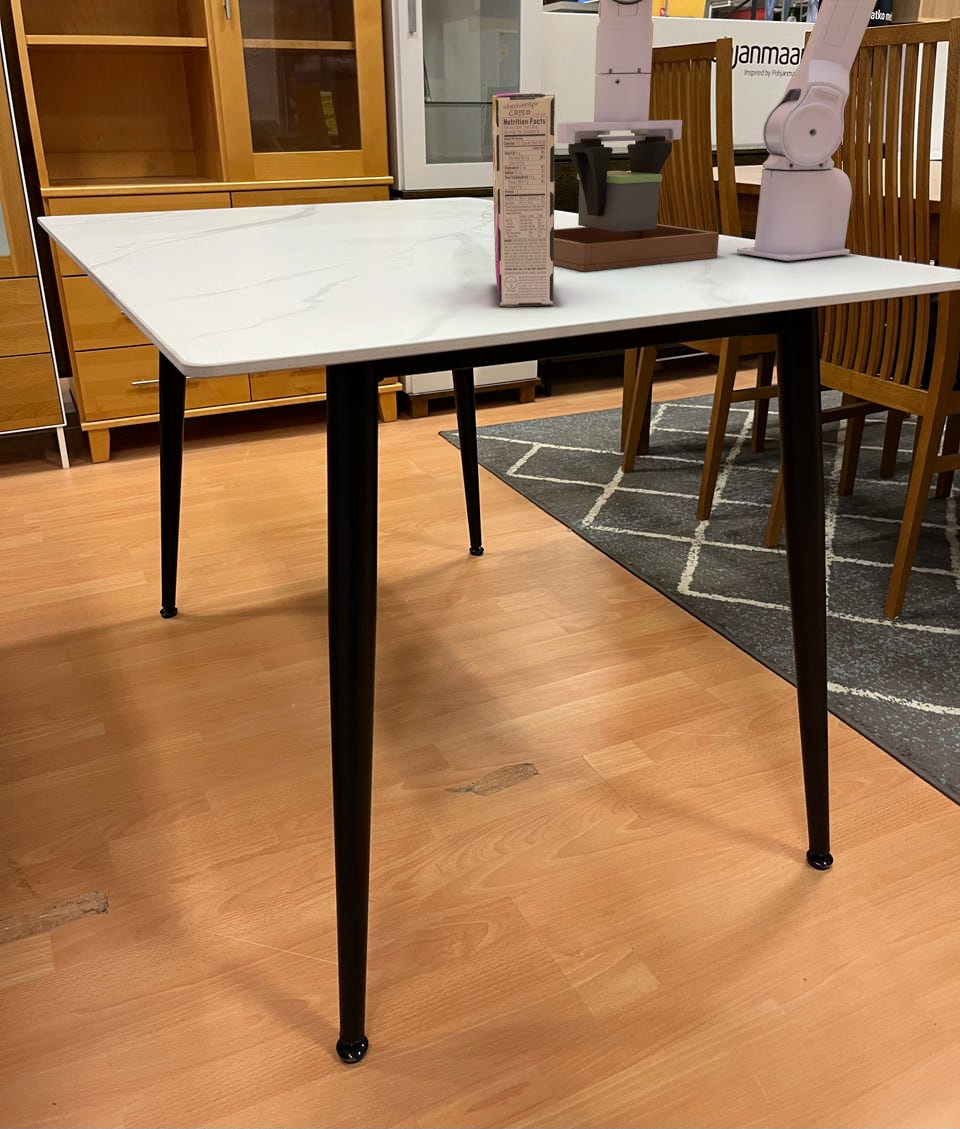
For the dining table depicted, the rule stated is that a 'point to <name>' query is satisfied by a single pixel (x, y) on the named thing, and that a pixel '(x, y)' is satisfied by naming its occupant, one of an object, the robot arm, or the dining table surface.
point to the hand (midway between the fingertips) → (617, 213)
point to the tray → (630, 247)
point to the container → (625, 203)
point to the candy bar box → (524, 197)
